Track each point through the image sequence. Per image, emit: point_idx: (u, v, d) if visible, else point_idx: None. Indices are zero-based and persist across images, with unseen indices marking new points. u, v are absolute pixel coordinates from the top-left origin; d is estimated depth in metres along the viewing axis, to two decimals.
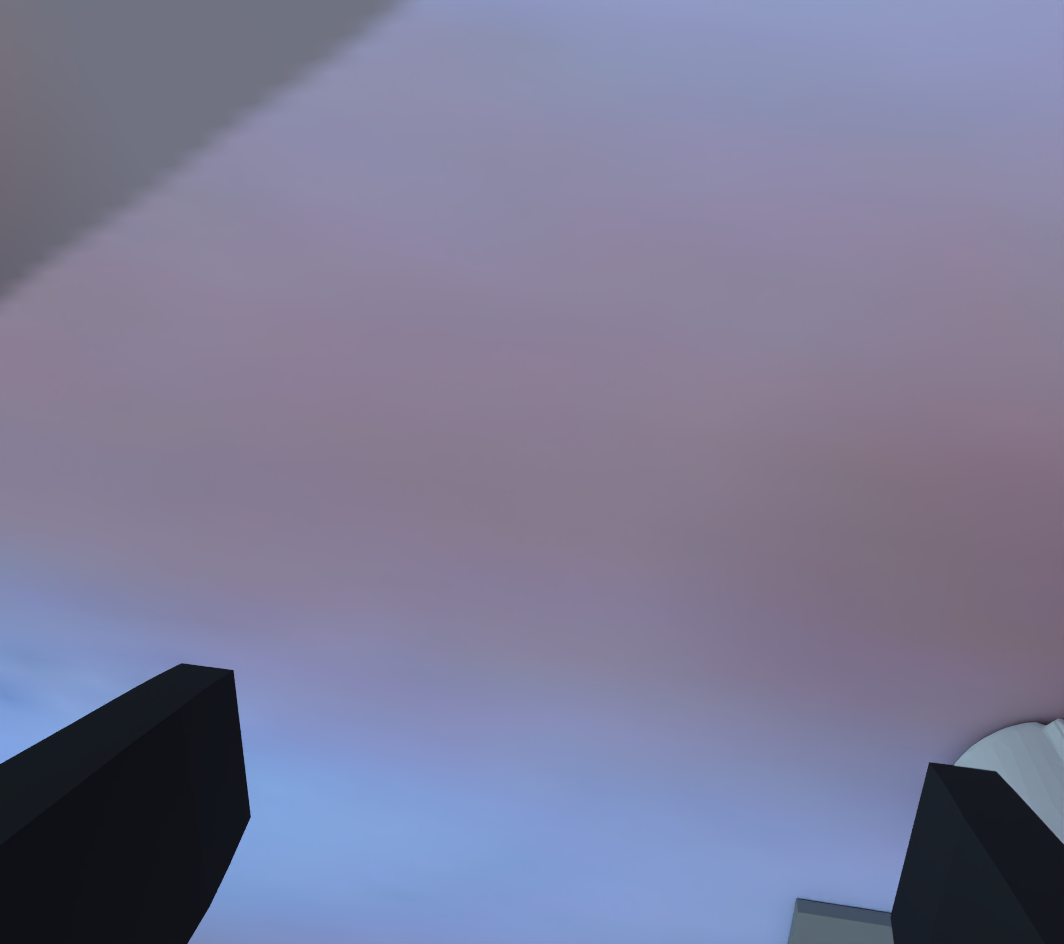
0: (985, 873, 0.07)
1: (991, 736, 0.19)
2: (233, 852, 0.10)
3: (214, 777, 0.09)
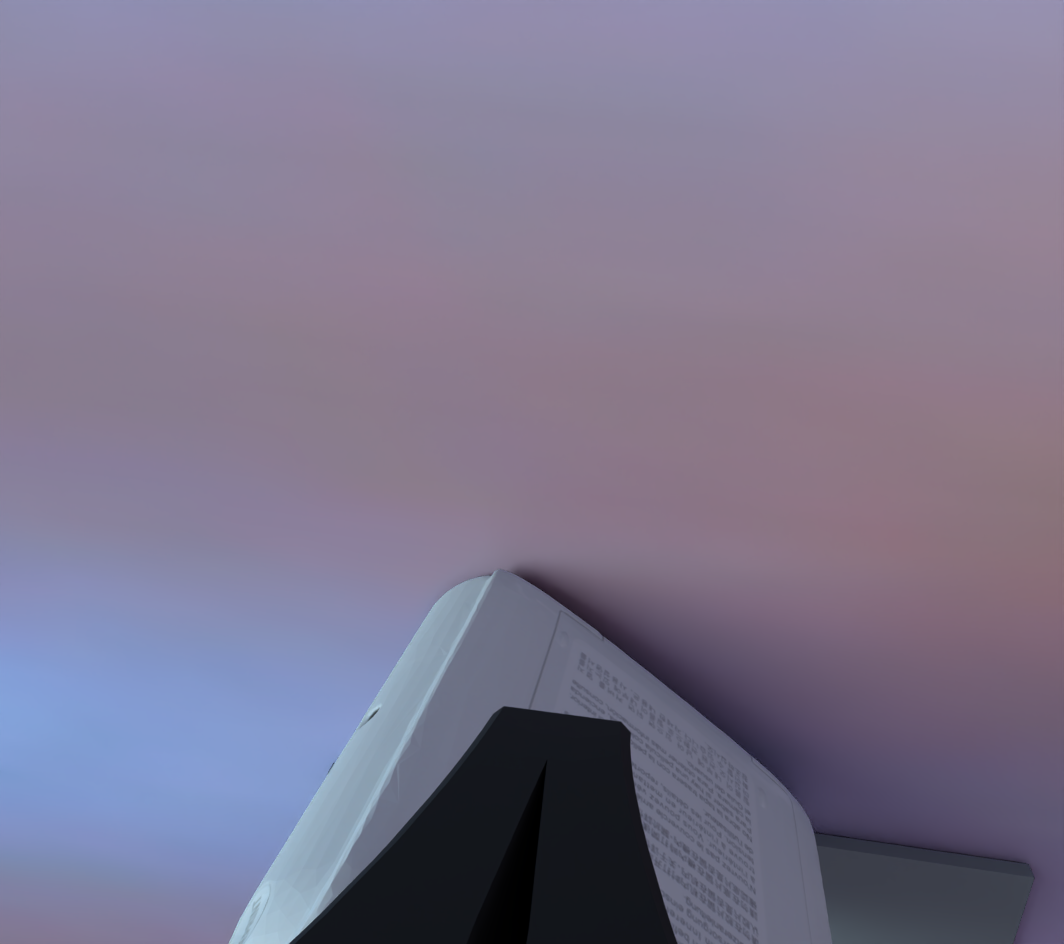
0: (542, 807, 0.08)
1: None
2: None
3: None
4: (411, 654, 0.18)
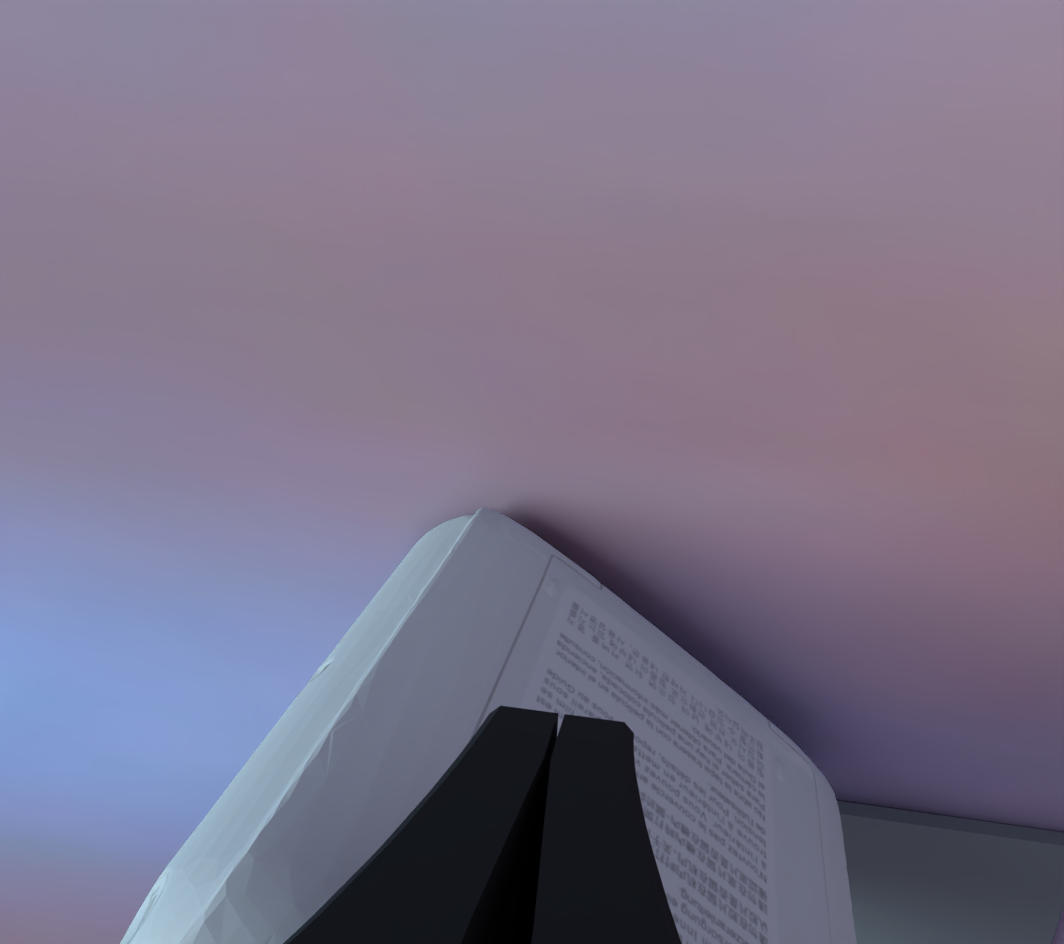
0: None
1: None
2: None
3: None
4: (376, 601, 0.15)
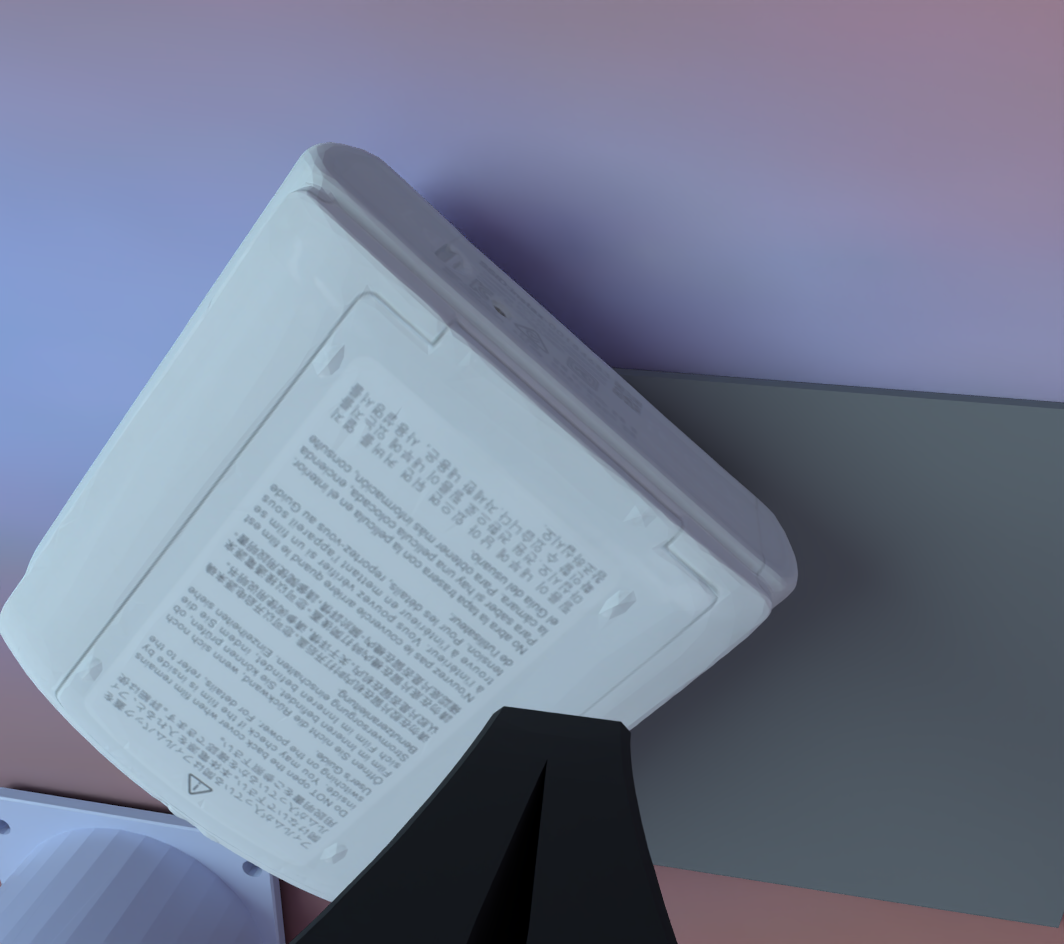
0: (542, 807, 0.08)
1: (303, 153, 0.13)
2: None
3: None
4: None
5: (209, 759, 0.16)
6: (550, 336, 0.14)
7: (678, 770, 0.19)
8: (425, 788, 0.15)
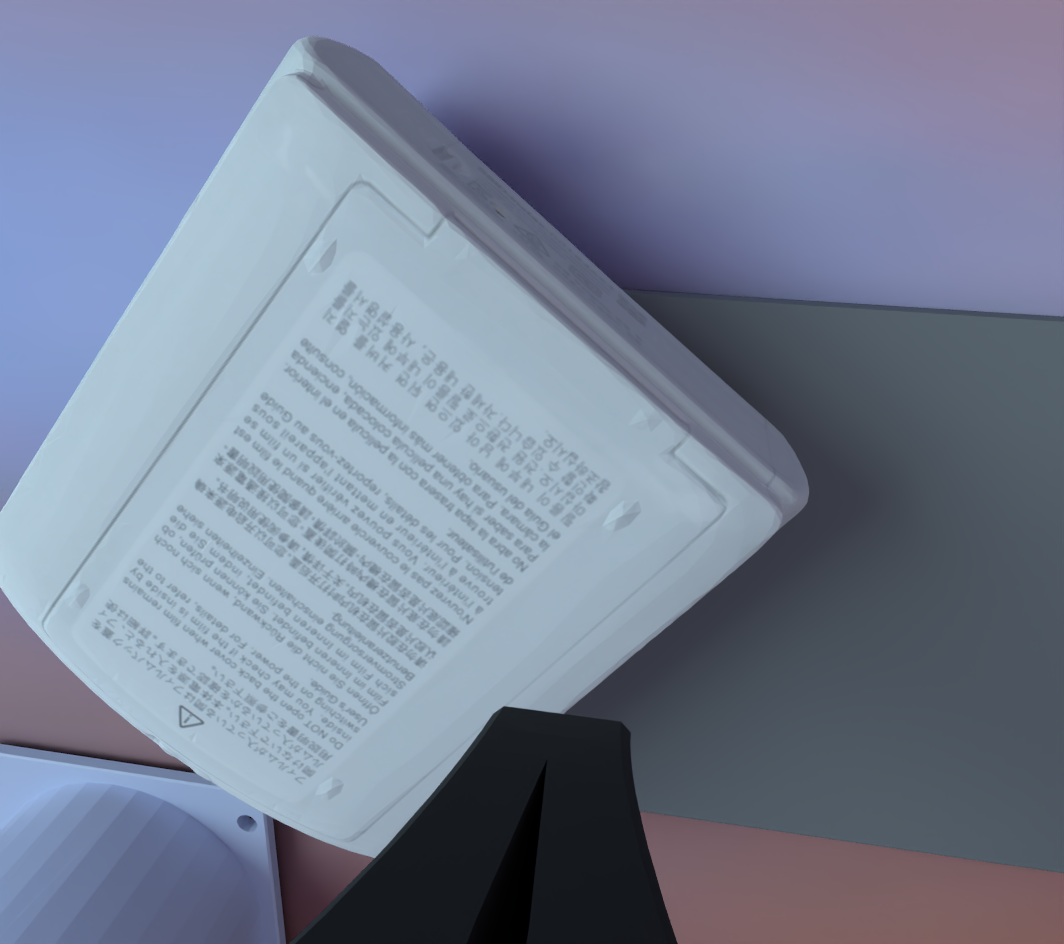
0: (542, 808, 0.08)
1: (293, 44, 0.13)
2: None
3: None
4: (188, 210, 0.14)
5: (199, 690, 0.15)
6: (551, 243, 0.14)
7: (684, 713, 0.19)
8: (422, 718, 0.15)
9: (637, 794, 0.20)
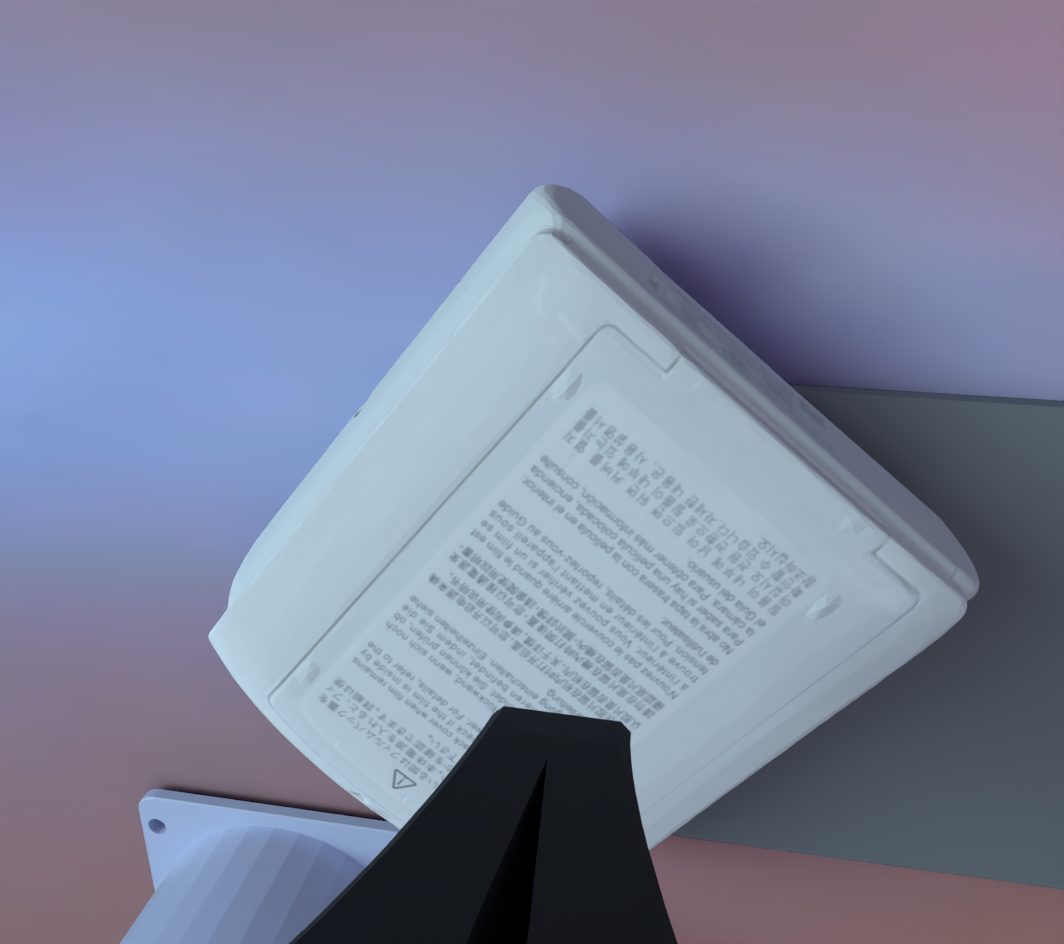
0: (542, 807, 0.08)
1: (530, 195, 0.14)
2: None
3: None
4: (421, 333, 0.15)
5: (415, 756, 0.17)
6: (745, 358, 0.15)
7: (825, 762, 0.21)
8: None
9: (777, 835, 0.22)
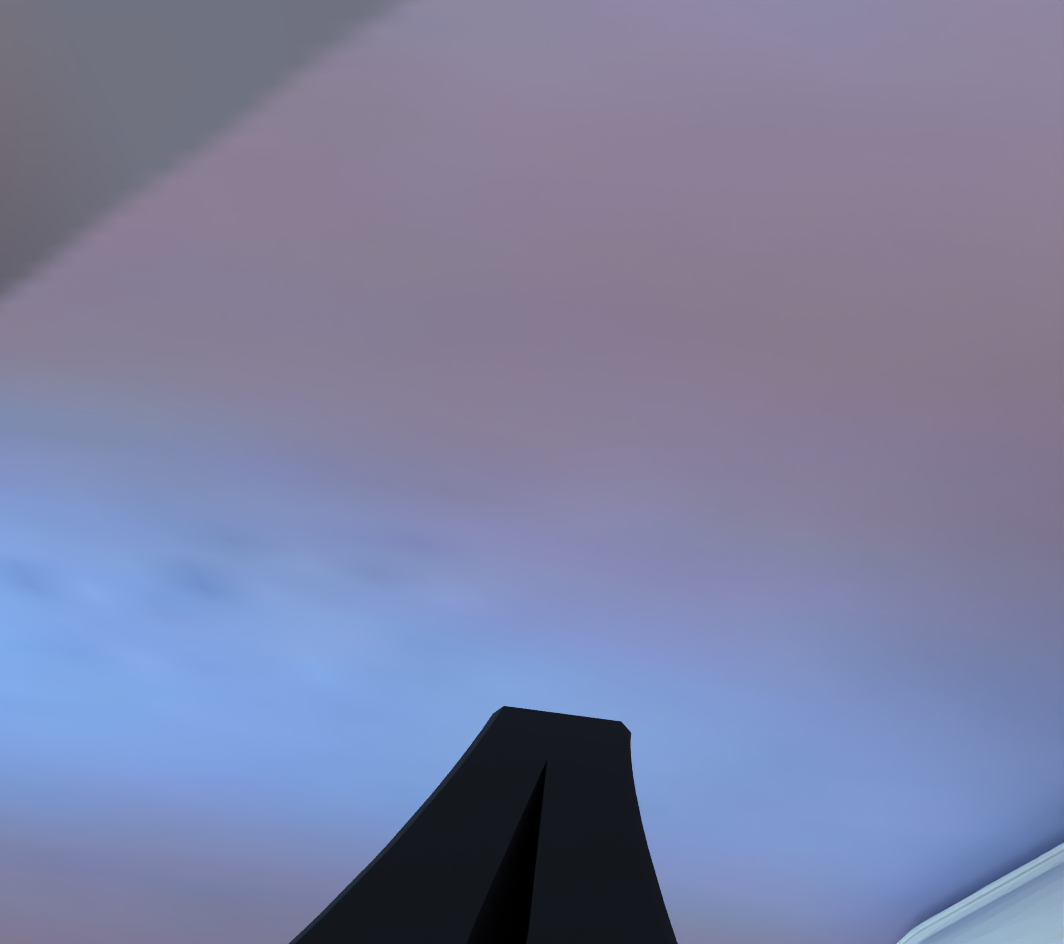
0: (542, 807, 0.08)
1: None
2: None
3: None
4: None
5: None
6: None
7: None
8: None
9: None
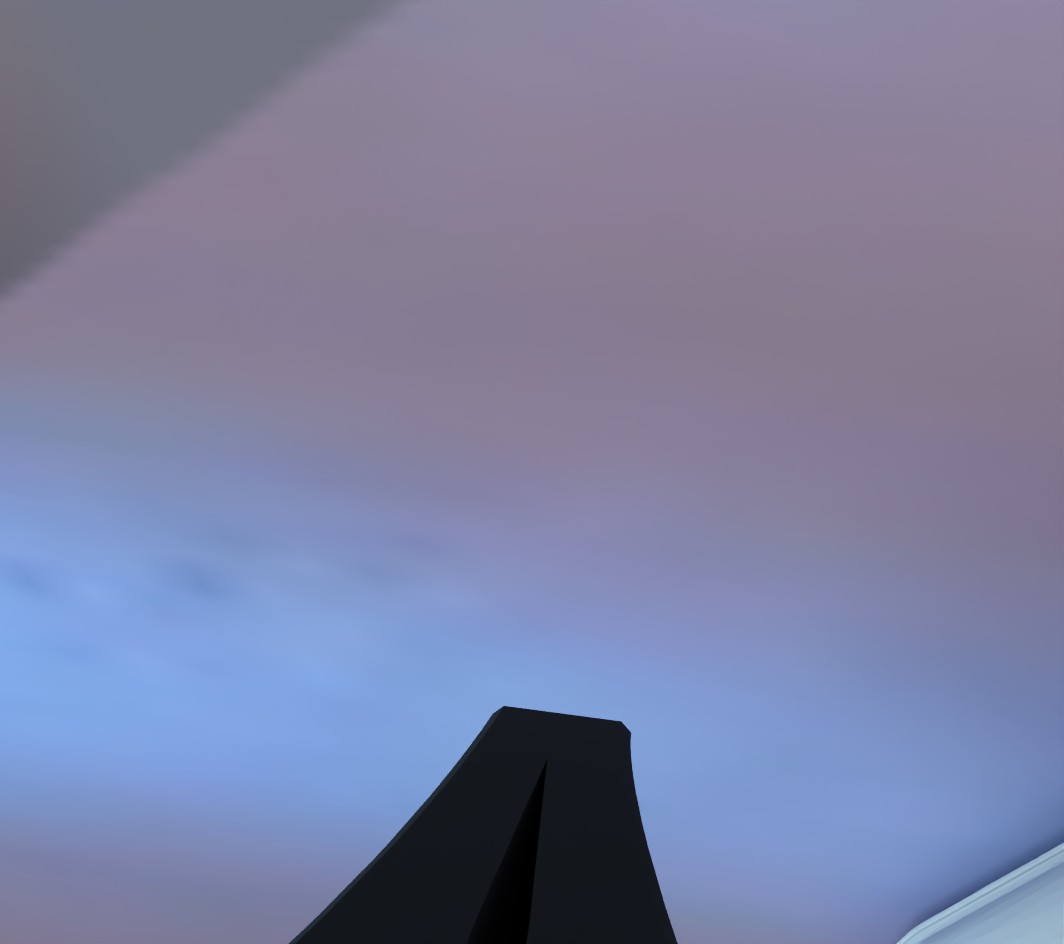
0: (542, 807, 0.08)
1: None
2: None
3: None
4: None
5: None
6: None
7: None
8: None
9: None
